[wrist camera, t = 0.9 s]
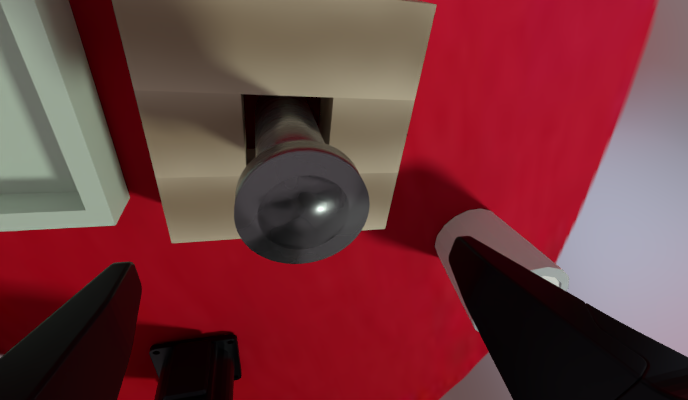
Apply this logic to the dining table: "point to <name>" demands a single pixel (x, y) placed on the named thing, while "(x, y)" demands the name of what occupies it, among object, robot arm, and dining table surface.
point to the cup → (496, 246)
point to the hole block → (268, 91)
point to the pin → (297, 188)
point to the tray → (52, 125)
